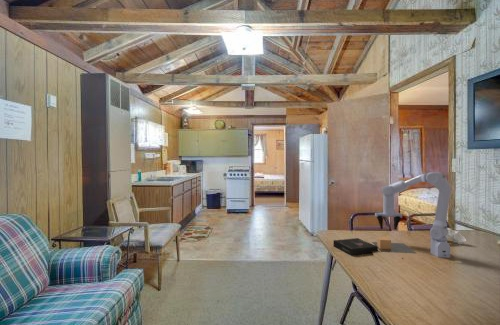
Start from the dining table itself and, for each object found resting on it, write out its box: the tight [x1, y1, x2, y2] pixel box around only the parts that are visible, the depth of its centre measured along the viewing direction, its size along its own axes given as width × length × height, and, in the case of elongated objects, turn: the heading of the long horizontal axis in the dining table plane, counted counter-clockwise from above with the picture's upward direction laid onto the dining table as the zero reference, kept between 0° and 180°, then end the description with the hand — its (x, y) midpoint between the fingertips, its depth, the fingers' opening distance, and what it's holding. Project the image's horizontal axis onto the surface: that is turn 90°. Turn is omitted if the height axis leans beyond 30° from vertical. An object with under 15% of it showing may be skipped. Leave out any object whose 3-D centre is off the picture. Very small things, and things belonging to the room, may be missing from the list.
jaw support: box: [446, 227, 467, 245], centre depth 175 cm, size 12×9×10 cm
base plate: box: [371, 241, 417, 254], centre depth 162 cm, size 18×18×4 cm
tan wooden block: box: [376, 236, 392, 249], centre depth 162 cm, size 6×6×5 cm
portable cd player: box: [333, 237, 379, 257], centre depth 162 cm, size 16×17×4 cm
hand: (388, 228), depth 170 cm, fingers open, 7 cm apart
